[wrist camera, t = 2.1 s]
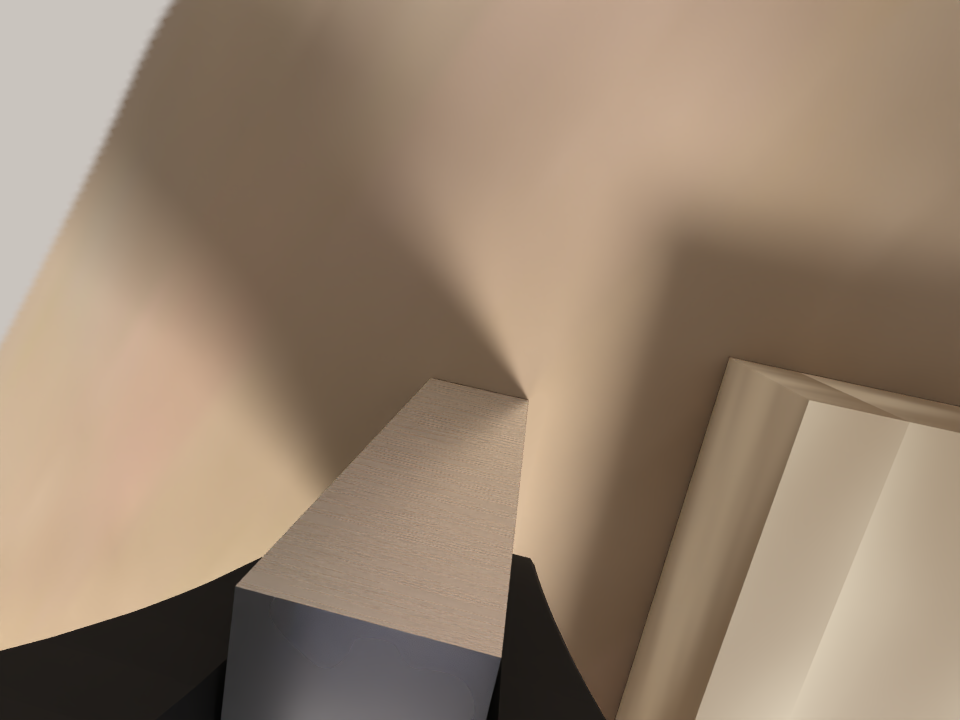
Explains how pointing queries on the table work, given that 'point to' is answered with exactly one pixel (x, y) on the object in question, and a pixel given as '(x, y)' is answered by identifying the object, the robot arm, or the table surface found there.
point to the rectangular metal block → (390, 575)
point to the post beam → (810, 560)
